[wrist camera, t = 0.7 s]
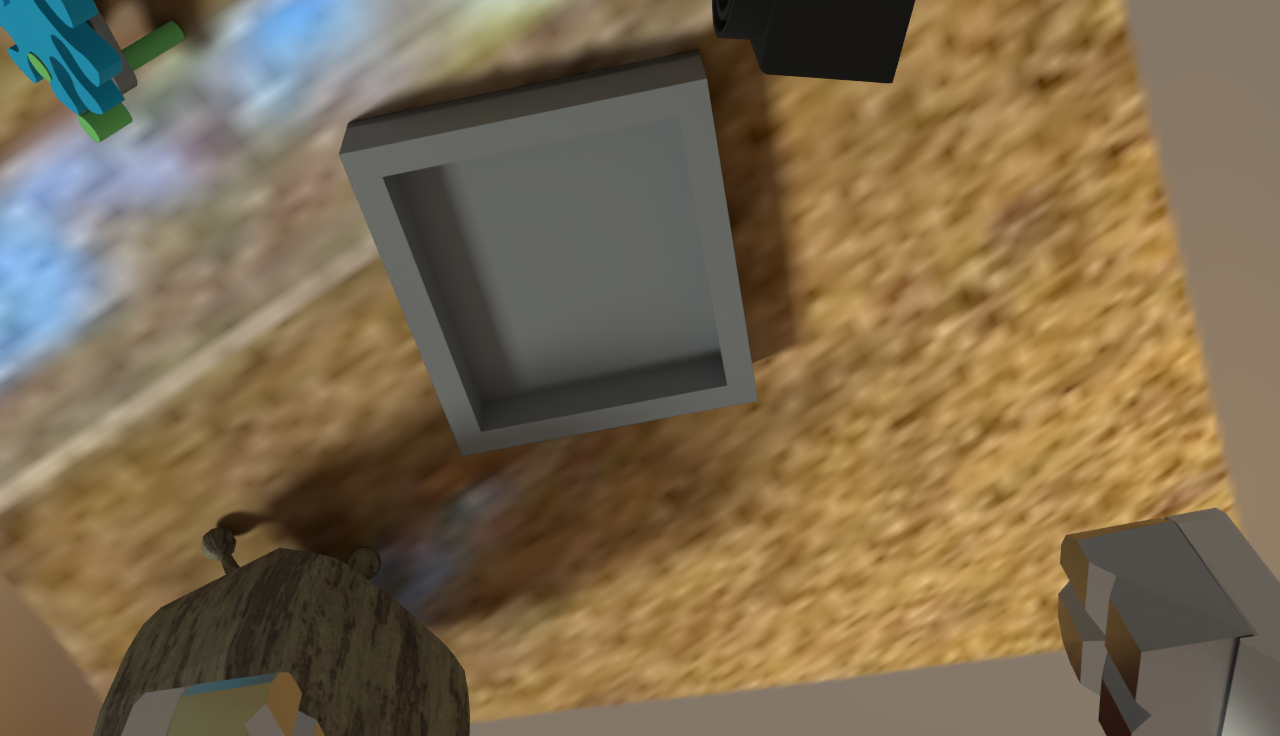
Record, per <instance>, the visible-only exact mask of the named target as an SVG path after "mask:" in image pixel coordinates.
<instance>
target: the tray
mask: <svg viewBox="0 0 1280 736" xmlns="http://www.w3.org/2000/svg"><path fill="white" fill-rule="evenodd" d="M339 156H340V159H341V161H342V164H343V166H344V169H345V171H346V174H347V176H348V178H349V181H350V183H351V186H352V188H353V191H354V193H355V195H356V198H357V200H358V203H359V205H360V208H361V210H362V213H363V215H364V217H365V220H366V222H367V225H368V227H369V230H370V232H371V234H372V237H373V239H374V242H375V244H376V247H377V249H378V252H379V254H380V256H381V259H382V261H383V264H384V266H385V269H386V271H387V273H388V276H389V278H390V281H391V283H392V286H393V288H394V291H395V293H396V295H397V298H398V300H399V303H400V305H401V308H402V310H403V312H404V315H405V317H406V320H407V322H408V325H409V327H410V330H411V332H412V334H413V337H414V339H415V342H416V344H417V347H418V349H419V351H420V354H421V356H422V359H423V361H424V364H425V366H426V369H427V371H428V373H429V376H430V378H431V381H432V383H433V386H434V388H435V391H436V393H437V395H438V398H439V400H440V403H441V405H442V408H443V410H444V412H445V415H446V417H447V420H448V422H449V425H450V427H451V430H452V432H453V434H454V437H455V439H456V442H457V444H458V447H459V449H460V451H461V454H462V456H465V455H471V454H476V453H481V452H487V451H492V450H497V449H503V448H508V447H514V446H519V445H524V444H530V443H535V442H540V441H546V440H551V439H556V438H562V437H567V436H572V435H578V434H583V433H588V432H594V431H599V430H604V429H610V428H615V427H620V426H626V425H631V424H637V423H642V422H647V421H653V420H658V419H663V418H669V417H674V416H679V415H685V414H690V413H695V412H701V411H706V410H711V409H717V408H722V407H727V406H733V405H738V404H743V403H749V402H754V401H758V398H757V392H756V386H755V379H754V373H753V367H752V360H751V354H750V348H749V341H748V335H747V329H746V323H745V316H744V310H743V304H742V297H741V291H740V285H739V278H738V272H737V266H736V259H735V253H734V247H733V240H732V234H731V228H730V221H729V215H728V209H727V203H726V196H725V190H724V184H723V177H722V171H721V165H720V158H719V152H718V146H717V139H716V133H715V127H714V120H713V114H712V108H711V101H710V95H709V89H708V83H707V77H706V74H705V70H704V66H703V63H702V59H701V55H700V52H699V50H695V51H690V52H685V53H680V54H675V55H671V56H666V57H661V58H656V59H651V60H647V61H642V62H637V63H632V64H628V65H623V66H618V67H613V68H608V69H604V70H599V71H594V72H589V73H584V74H580V75H575V76H570V77H565V78H560V79H556V80H551V81H546V82H541V83H536V84H532V85H527V86H522V87H517V88H512V89H508V90H503V91H498V92H493V93H489V94H484V95H479V96H474V97H469V98H465V99H460V100H455V101H450V102H445V103H441V104H436V105H431V106H426V107H421V108H417V109H412V110H407V111H402V112H397V113H393V114H388V115H383V116H378V117H374V118H369V119H364V120H359V121H354V122H350V123H348V126H347V129H346V132H345V136H344V139H343V142H342V146H341V149H340V152H339Z"/></svg>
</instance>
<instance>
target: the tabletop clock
mask: <svg viewBox="0 0 1280 736" xmlns="http://www.w3.org/2000/svg"><path fill="white" fill-rule="evenodd" d="M235 545H236V539H235V538H234V536H233V534H232V533H231V531H229V530H226V529H224V528H221V527H220V528H215V529H211V530H210V531H209V532H208V533H206V534H205V535H204V536H203V540H202V544H201V549H202V551H203V552H204V554H205V555H206V557H207V558H210V559H213V560H216V561H219V560H221V563H222V565H223V568H224V571H225V573H226V575H225V576H223V577H221V578H219V579H217V580H215V581H213V582H211V583H209V584H207V585H205V586H203V587H201V588H199V589H197V590H195V591H193V592H191V593H189V594H187V595H185V596H183V597H181V598H179V599H177V600H175V601H173V602H171V603H169V604H167V605H165V606H163V607H161V608H160V609H159V610H158V611H157V612H156V613H155V614H154V615H153V616H152V617H151V618H150V619H148V620H147V621H146V622H145V623H144V624H143V626H142V627H141V629H140V630H139V632H138V634H137V635H136V637H135V638H134V640H133V642H132V643H131V645H130V647H129V648H128V650H127V652H126V654H125V656H124V658H123V661H122V663H121V665H120V667H119V670H118V672H117V674H116V676H115V679H114V681H113V683H112V685H111V688H110V690H109V692H108V694H107V697H106V699H105V701H104V703H103V706H102V708H101V710H100V713H99V717H98V720H97V724H96V727H95V731H94V735H93V736H121V734H122V732H123V729H124V727H125V724H126V722H127V719H128V717H129V715H130V712H131V710H132V707H133V706H134V704H135V703H136V702H137V701H138V700H139V699H140V698H141V697H142V696H143V695H144V694H145V693H147V692H154V691H161V690H168V689H174V688H181V687H188V686H191V685H196V684H203V683H210V682H216V681H223V680H230V679H237V678H244V677H250V676H257V675H264V674H271V673H278V672H284V673H290V674H291V675H292V677H293V679H294V680H295V682H296V684H297V685H298V687H299V689H300V690H301V692H302V696H301V701H300V705H299V709H298V711H300V712H302V713H304V714H306V715H308V716H310V717H312V718H313V719H315V720H317V721H318V723H319V725H320V727H321V729H322V731H323V733H324V735H325V736H469V733H470V711H469V696H468V688H467V683H466V677H465V671H464V669H463V668H462V666H461V665H460V663H459V662H458V660H457V659H456V657H455V656H454V654H453V653H452V652H451V651H450V650H449V648H448V647H447V646H446V645H445V644H444V643H443V642H442V641H441V640H440V639H439V638H438V637H436V636H435V635H434V634H433V633H432V632H431V631H430V630H429V629H428V628H426V627H425V626H424V625H423V624H422V623H421V622H420V621H419V620H417V619H416V618H415V617H414V616H413V615H412V614H411V613H410V612H409V611H407V610H406V609H405V608H404V607H403V606H402V605H401V604H400V603H398V602H397V601H396V600H395V599H393V598H392V597H390V596H389V595H388V594H386V593H385V592H384V591H382V590H381V589H380V588H378V587H377V586H376V585H374V584H373V583H372V582H370V581H369V579H371V578H373V577H374V576H375V575H376V574H377V573H378V572H379V570H380V567H381V559H380V557H379V555H378V554H377V553H376V552H375V551H374V550H372V549H370V548H360V549H358V550H356V551H355V552H354V553H353V554H352V555H351V557H350V558H349V561H348V565H347V564H345V563H344V562H342V561H340V560H338V559H336V558H333V557H329V556H325V555H322V554H317V553H310V552H304V551H297V550H291V549H285V548H278V549H276V550H274V551H272V552H270V553H268V554H266V555H264V556H262V557H260V558H258V559H256V560H254V561H252V562H250V563H248V564H246V565H244V566H242V567H239V565H238V564H237V562H236V561H235V560H234V558H233V557H232V555H231V554H232V553H233V552H234V549H235Z"/></svg>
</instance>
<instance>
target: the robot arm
mask: <svg viewBox="0 0 1280 736" xmlns="http://www.w3.org/2000/svg"><path fill="white" fill-rule="evenodd" d="M1060 564H1061V565H1062V567H1063V569H1064V571H1065V573H1066V575H1067V577H1068V579H1069V582H1068V583H1067V585H1066V586H1065V587H1064V588H1063V589H1062V590H1061V591H1060V593H1059V594H1058V619H1059V624H1060V629H1061V635H1062V640H1063V644H1064V647H1065V650H1066V652H1067V655H1068V658H1069V661H1070V663H1071V666H1072V668H1073V670H1074V672H1075V674H1076V676H1077V678H1078V680H1079V682H1080V684H1082V685H1083V686H1085V687H1086V688H1088V689H1090V690H1091V691H1093V692H1094V693H1096V694H1098V695H1099V696H1100V705H1099V719H1098V720H1099V722H1100V724H1101V726H1102V728H1103V730H1104V732H1105V734H1106V736H1280V582H1279V581H1278V579H1277V578H1276V577H1275V576H1274V574H1273V573H1272V572H1271V570H1270V569H1269V568H1268V567H1267V565H1266V564H1265V563H1264V561H1263V560H1262V559H1261V558H1260V556H1259V555H1258V554H1257V552H1256V551H1255V550H1254V549H1253V547H1252V546H1251V545H1250V543H1249V542H1248V541H1247V540H1246V538H1245V537H1244V536H1243V534H1242V533H1241V532H1240V531H1239V529H1238V528H1237V527H1236V525H1235V524H1234V523H1233V522H1232V520H1231V519H1230V518H1229V516H1228V515H1227V514H1226V513H1224V512H1222V511H1221V510H1219V509H1217V508H1212V509H1207V510H1201V511H1195V512H1190V513H1184V514H1179V515H1173V516H1168V517H1165V518H1164V519H1163V518H1156V519H1150V520H1145V521H1139V522H1134V523H1129V524H1123V525H1118V526H1112V527H1107V528H1101V529H1096V530H1091V531H1085V532H1080V533H1074V534H1069V535H1066V536H1065V538H1064V540H1063V542H1062V544H1061V557H1060ZM301 696H302V692H301V690H300V689H299V687H298V685H297V684H296V682H295V680H294V679H293V677H292V675H291V674H290V673H284V672H278V673H271V674H264V675H257V676H250V677H244V678H237V679H230V680H223V681H216V682H210V683H203V684H196V685H191V686H188V687H181V688H174V689H168V690H161V691H154V692H147V693H145V694H144V695H143V696H142V697H141V698H140V699H139V700H138V701H137V702H136V703H135V704H134V706H133V707H132V710H131V712H130V715H129V717H128V719H127V722H126V724H125V727H124V729H123V732H122V734H121V736H325V735H324V733H323V731H322V729H321V727H320V725H319V723H318V721H317V720H315V719H313V718H312V717H310V716H308V715H306V714H304V713H302V712H300V711H298V709H299V705H300V701H301Z"/></svg>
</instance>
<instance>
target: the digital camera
mask: <svg viewBox="0 0 1280 736" xmlns="http://www.w3.org/2000/svg"><path fill="white" fill-rule="evenodd" d="M914 3H915V0H712V12H713V25H714V30H715V33H716V36H717V37H718V38H731V39H746V40H750V41H751V44H752V47H753V50H754V52H755V55H756V58H757V60H758V63H759V66H760V68H761V70H762V72H763V73H765V74H768V75H769V74H771V75H784V76H798V77H811V78H825V79H838V80H852V81H865V82H877V83H893V79H894V76H895V72H896V68H897V65H898V61H899V57H900V54H901V50H902V47H903V43H904V39H905V36H906V32H907V28H908V25H909V21H910V18H911V14H912V10H913V7H914Z"/></svg>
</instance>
